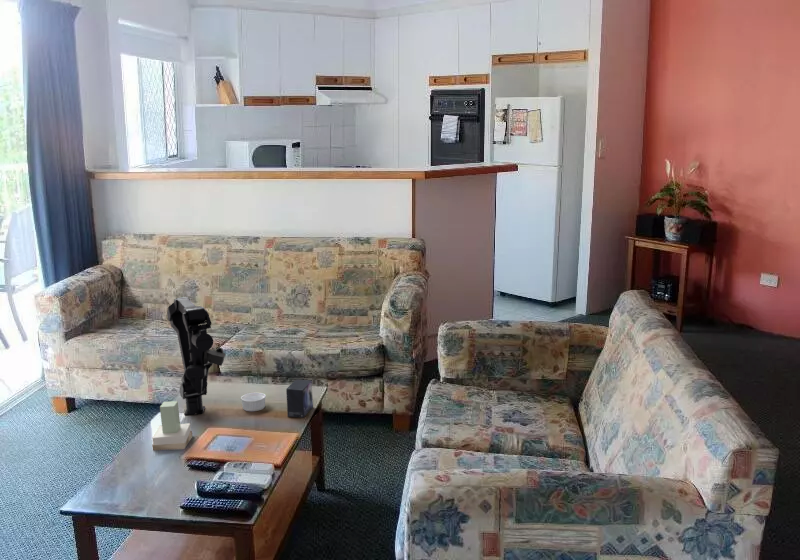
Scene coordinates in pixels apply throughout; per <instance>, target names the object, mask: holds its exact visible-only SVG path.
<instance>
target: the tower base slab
mask: <svg viewBox="0 0 800 560" xmlns="http://www.w3.org/2000/svg"><path fill="white" fill-rule="evenodd" d="M192 438H193V431H192V430H191V431H190V434H189V436H188V438H187V440H186V443H177V444H163V445H153V443H152V451H163V450H165V451H167V450H170V451H171V450H185V449H186V447H187V445H189V442H190V441H191V439H192Z"/></svg>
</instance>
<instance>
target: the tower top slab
mask: <svg viewBox="0 0 800 560" xmlns="http://www.w3.org/2000/svg"><path fill="white" fill-rule="evenodd" d="M180 426H181V427H180V429H179V430H178V432H177V433H163V431H162V424H161V425H158V427H157V429H156V430H155V432H154V434H153V436H152V444H153V445H163V444H177V443H186V440H187V438H188V436H189V434H190V431H192V429H191V428H192V427H191V423H188V422H187V423H180Z"/></svg>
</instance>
